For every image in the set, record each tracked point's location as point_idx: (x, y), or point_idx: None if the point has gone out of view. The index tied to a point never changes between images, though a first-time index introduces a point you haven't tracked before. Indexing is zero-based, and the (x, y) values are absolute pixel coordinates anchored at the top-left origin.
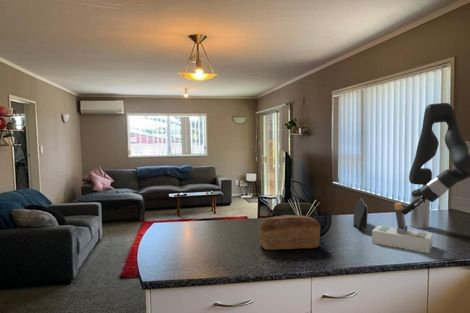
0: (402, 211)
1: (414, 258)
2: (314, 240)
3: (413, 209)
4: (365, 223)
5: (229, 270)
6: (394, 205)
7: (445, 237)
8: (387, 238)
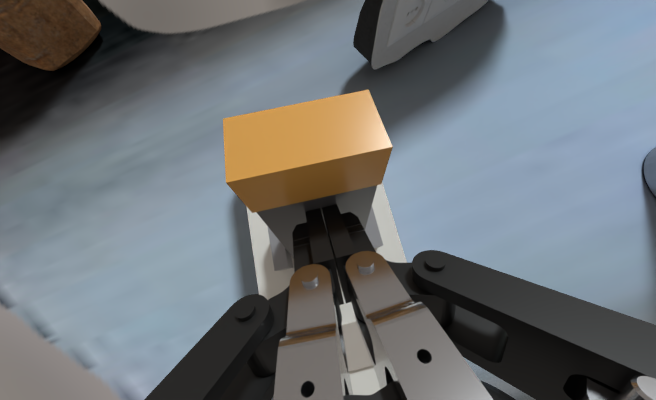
0: (306, 216)
1: (172, 369)
2: (2, 48)
3: (237, 384)
4: (370, 48)
5: None
6: (228, 128)
7: None
8: None
